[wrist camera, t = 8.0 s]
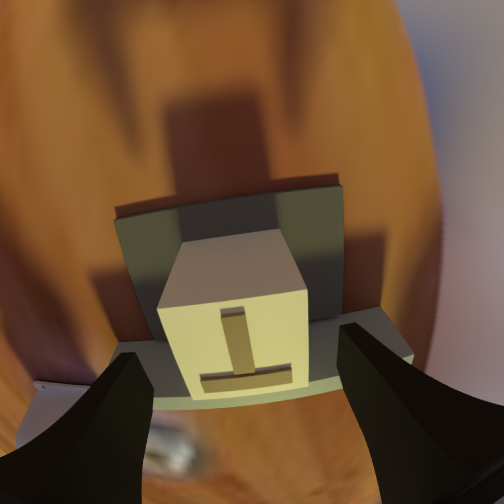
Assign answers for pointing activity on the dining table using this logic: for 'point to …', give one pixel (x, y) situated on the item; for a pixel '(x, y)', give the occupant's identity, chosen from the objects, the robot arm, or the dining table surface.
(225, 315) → the letter block
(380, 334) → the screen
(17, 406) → the dining table surface
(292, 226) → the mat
